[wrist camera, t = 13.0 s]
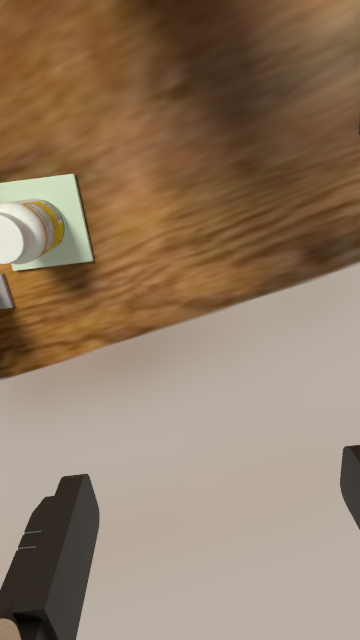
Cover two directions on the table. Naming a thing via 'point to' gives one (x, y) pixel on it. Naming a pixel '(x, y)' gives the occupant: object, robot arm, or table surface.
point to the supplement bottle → (29, 230)
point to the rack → (5, 294)
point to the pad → (68, 202)
